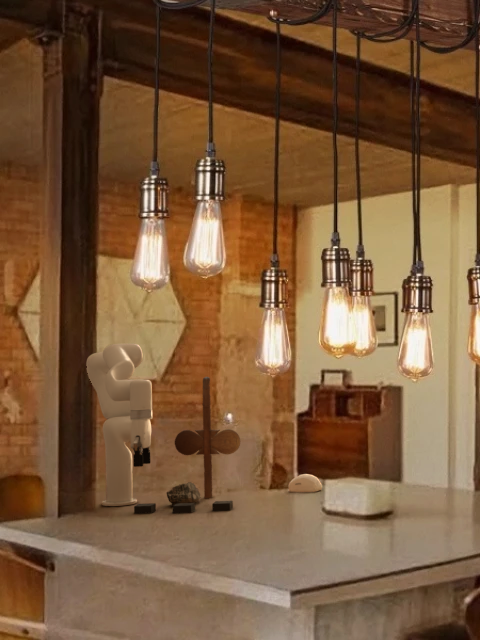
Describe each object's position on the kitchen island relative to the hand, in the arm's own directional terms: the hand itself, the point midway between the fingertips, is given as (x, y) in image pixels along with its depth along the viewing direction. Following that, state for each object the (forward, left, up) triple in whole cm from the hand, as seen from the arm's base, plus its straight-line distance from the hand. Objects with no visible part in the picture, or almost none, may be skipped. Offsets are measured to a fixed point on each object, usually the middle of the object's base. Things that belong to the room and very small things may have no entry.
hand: (142, 465), depth 377 cm
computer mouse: (-42, +52, -16) cm, 69 cm away
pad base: (+1, +15, -16) cm, 22 cm away
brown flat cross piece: (-31, +17, -16) cm, 39 cm away
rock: (-18, +11, -16) cm, 26 cm away
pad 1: (-1, +1, -16) cm, 16 cm away
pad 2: (-1, +28, -16) cm, 32 cm away
